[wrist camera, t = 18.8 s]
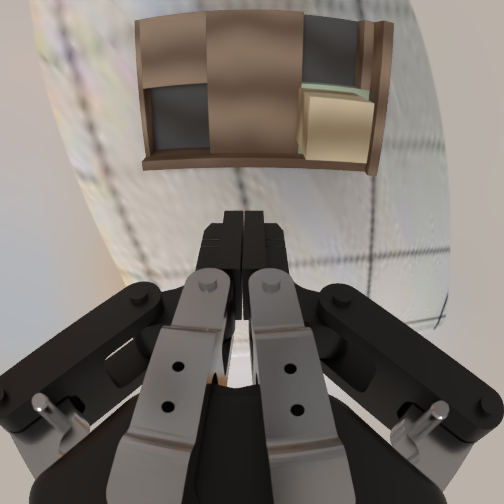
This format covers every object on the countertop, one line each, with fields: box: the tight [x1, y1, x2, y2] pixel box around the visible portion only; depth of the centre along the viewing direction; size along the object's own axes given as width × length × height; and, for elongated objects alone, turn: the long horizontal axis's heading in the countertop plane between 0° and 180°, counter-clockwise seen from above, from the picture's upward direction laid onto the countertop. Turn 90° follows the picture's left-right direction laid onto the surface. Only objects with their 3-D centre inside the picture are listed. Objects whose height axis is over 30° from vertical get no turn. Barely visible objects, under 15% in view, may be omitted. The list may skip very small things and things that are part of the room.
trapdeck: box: [135, 10, 394, 176], centre depth 27 cm, size 16×24×5 cm, turn 90°
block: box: [296, 88, 375, 163], centre depth 26 cm, size 6×6×6 cm
